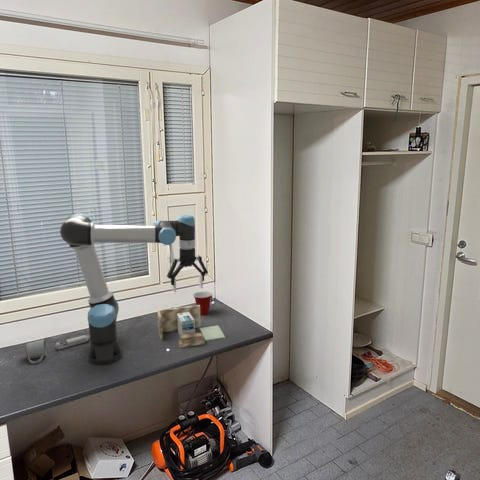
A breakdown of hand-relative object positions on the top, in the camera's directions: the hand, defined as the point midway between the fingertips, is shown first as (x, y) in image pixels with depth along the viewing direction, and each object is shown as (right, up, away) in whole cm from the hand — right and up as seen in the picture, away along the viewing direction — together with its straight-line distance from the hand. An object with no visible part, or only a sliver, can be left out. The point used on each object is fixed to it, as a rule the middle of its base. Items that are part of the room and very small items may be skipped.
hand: (187, 289), depth 207 cm
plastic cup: (+5, -18, +32) cm, 36 cm away
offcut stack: (+2, -26, -4) cm, 26 cm away
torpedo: (-54, -27, -3) cm, 61 cm away
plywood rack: (-4, -23, +8) cm, 25 cm away
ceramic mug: (-67, -30, -16) cm, 75 cm away
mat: (+11, -23, +7) cm, 27 cm away
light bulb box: (-1, -24, +4) cm, 25 cm away
